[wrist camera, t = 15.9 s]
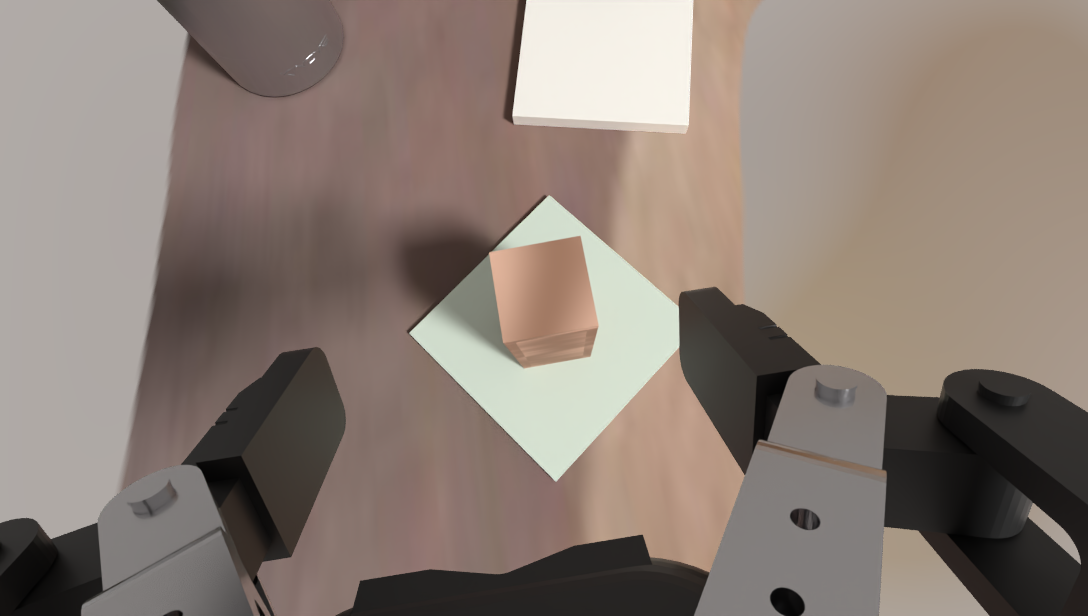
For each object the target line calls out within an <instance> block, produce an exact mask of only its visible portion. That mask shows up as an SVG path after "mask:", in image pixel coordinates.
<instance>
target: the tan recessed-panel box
mask: <svg viewBox="0 0 1088 616" xmlns="http://www.w3.org/2000/svg"><path fill="white" fill-rule="evenodd" d="M489 256H490V262H491V268H492V275H493V281H494V288H495V294H496V301H497V307H498V313H499V320H500V326H501V333H502V339H503V343H504V345H505V346H506V347H507V348H508V349H509V351H510V352H511V353H512V354H513V356H514V357H515V358H516V359H517V360H518V362H519V363H520V364H521V365H522V367H523V368H524V369H525V368H530V367H536V366H541V365H547V364H552V363H558V362H563V361H569V360H575V359H580V358H586V357H591V353H592V349H593V345H594V342H595V338H596V334H597V330H598V326H599V324H598V319H597V315H596V310H595V305H594V300H593V295H592V290H591V285H590V280H589V275H588V270H587V265H586V260H585V255H584V250H583V245H582V240H581V236H576V237H570V238H565V239H559V240H554V241H548V242H543V243H538V244H532V245H527V246H521V247H516V248H510V249H505V250H499V251H494V252H489Z"/></svg>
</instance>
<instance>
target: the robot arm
mask: <svg viewBox="0 0 1088 616" xmlns="http://www.w3.org/2000/svg"><path fill="white" fill-rule="evenodd" d="M157 1H158V2H159V3H160V4H161V5H162V6H163V7H164V8H165V9H166V10H167V11H168V12H169V13H170V14H171V15H172V16H173V17H174V18H175V19H176V20H177V21H178V22H179V23H180V24H181V25H182V26H183V27H184V28H185V29H186V31H187V32H188V33H189V34H190V35H191V36H192V37H193V38H194V39H195V40H196V41H197V42H198V43H199V44H200V45H201V46H202V47H203V48H204V49H205V50H206V51H207V52H208V53H209V54H210V55H211V56H212V57H213V58H214V60H215V61H216V62H217V63H218V64H219V65H220V66H221V67H222V68H223V69H224V70H225V71H226V72H227V73H228V74H229V75H230V76H231V77H232V78H233V79H234V80H235V81H236V82H237V83H238V84H239V85H240V86H241V87H243V88H245V89H247V90H248V91H250V92H252V93H256V94H259V95H262V96H271V97H277V96H288V95H291V94H295V93H298V92H301V91H303V90H305V89H307V88H309V87H311V86H313V85H314V84H316V83H317V82H318V81H320V80H321V79H323V78H324V76H325V75H326V74H327V73H328V72H329V71H330V70H331V69H332V68H333V66H334V64H335V63H336V61H337V60H338V58H339V55H340V52H341V50H342V46H343V38H344V35H343V26H342V23H341V21H340V18H339V16H338V14H337V12H336V11H335V9H334V7H333V5H332V4H331V2H330V0H157ZM679 349H680V361H681V367H682V370H683V374H684V376H685V379H686V381H687V382H688V384H689V386H690V387H691V389H692V390H693V392H694V394H695V395H696V397H697V398H698V400H699V402H700V403H701V405H702V407H703V408H704V410H705V411H706V413H707V415H708V416H709V418H710V420H711V421H712V423H713V424H714V426H715V428H716V429H717V431H718V432H719V434H720V436H721V437H722V439H723V441H724V442H725V444H726V445H727V447H728V449H729V450H730V452H731V454H732V455H733V457H734V458H735V460H736V462H737V463H738V465H739V466H740V468H741V470H742V471H743V473H744V475H745V477H744V480H743V483H742V485H741V488H740V491H739V494H738V496H737V499H736V502H735V505H734V507H733V510H732V513H731V516H730V518H729V521H728V524H727V527H726V529H725V532H724V535H723V538H722V540H721V543H720V546H719V549H718V551H717V554H716V557H715V560H714V562H713V565H712V568H711V571H710V573H709V572H707V571H704V570H702V569H700V568H697V567H694V566H691V565H688V564H684V563H681V562H677V561H672V560H667V559H661V558H650V556H649V553H648V550H647V547H646V544H645V541H644V537H643V535H638V536H632V537H625V538H619V539H613V540H607V541H601V542H595V543H589V544H583V545H577V546H573V547H570V548H568V549H565V550H563V551H560V552H558V553H555V554H553V555H550V556H548V557H545V558H543V559H541V560H538V561H536V562H533V563H531V564H528V565H526V566H523V567H521V568H518V569H516V570H514V571H511V572H508V573H505V574H483V573H470V572H457V571H444V570H431V569H430V570H424V571H418V572H412V573H406V574H399V575H393V576H387V577H381V578H375V579H369V580H363V581H360V584H359V587H358V591H357V595H356V599H355V602H354V606H353V608H351V609H348V610H346V611H344V612H342V613H340V614H338V615H336V616H879V605H880V587H881V569H882V552H883V533H884V527H891V528H900V529H901V528H902V529H910V530H918V531H919V532H920V533H921V535H922V536H923V537H924V538H925V539H926V541H927V542H928V543H929V544H930V545H931V546H932V547H933V549H934V550H935V551H936V552H937V554H938V555H939V556H940V557H941V558H942V559H943V561H944V562H945V563H946V564H947V566H948V567H949V568H950V569H951V570H952V571H953V573H954V574H955V575H956V576H957V577H958V579H959V580H960V581H961V582H962V583H963V585H964V586H965V587H966V588H967V589H968V591H969V592H970V593H971V594H972V595H973V597H974V598H975V599H976V600H977V601H978V603H979V604H980V605H981V606H982V607H983V608H984V610H985V611H986V612H987V613H988V614H989V616H1088V412H1086V411H1085V410H1083V409H1081V408H1080V407H1078V406H1076V405H1075V404H1073V403H1072V402H1070V401H1068V400H1067V399H1065V398H1064V397H1062V396H1060V395H1059V394H1057V393H1055V392H1054V391H1052V390H1050V389H1049V388H1047V387H1045V386H1043V385H1041V384H1039V383H1037V382H1035V381H1032V380H1030V379H1027V378H1024V377H1021V376H1017V375H1014V374H1010V373H1006V372H1000V371H994V370H983V369H971V370H963V371H958V372H954V373H952V374H950V375H948V376H947V377H946V379H945V380H944V383H943V387H942V391H941V395H940V398H938V397H915V396H894V395H886V392H885V389H884V388H883V387H882V386H881V384H880V383H878V382H877V381H876V380H875V379H873V378H871V377H870V376H868V375H866V374H864V373H862V372H859V371H856V370H853V369H850V368H845V367H841V366H834V365H821V364H820V363H819V362H818V361H816V360H815V359H814V358H813V357H812V356H811V355H810V354H809V353H807V352H806V351H805V350H804V349H803V348H802V347H801V346H800V345H799V344H797V343H796V342H795V341H794V340H793V339H792V338H791V337H788V336H787V334H786V333H785V332H784V331H783V330H782V329H781V328H779V327H777V326H776V324H775V323H774V322H773V321H772V320H771V319H770V318H768V317H767V316H766V315H765V314H764V313H762V312H760V311H758V310H755V309H753V308H751V307H748V306H746V305H743V304H741V305H734V304H733V303H732V302H731V301H730V300H729V299H728V298H727V297H726V296H725V295H724V294H723V293H722V292H721V291H720V290H719V289H718V288H716V287H711V288H704V289H698V290H691V291H685V292H681V294H680V296H679ZM215 423H216V425H215V426H212V427H211V428H210V430H209V431H208V432H207V433H206V435H205V436H204V437H203V438H202V439H201V441H200V442H199V443H198V444H197V446H196V447H195V448H194V449H193V451H192V452H191V453H190V454H189V456H188V457H187V458H186V459H185V460H184V462H183V463H182V464H181V465H178V466H173V467H169V468H165V469H162V470H159V471H157V472H154V473H152V474H150V475H147V476H145V477H143V478H141V479H139V480H138V481H136V482H134V483H133V484H131V485H129V486H128V487H127V488H125V489H124V490H122V491H121V492H120V493H119V494H117V495H116V496H115V497H114V498H113V499H112V500H111V501H110V502H109V503H108V504H107V505H106V506H105V507H104V509H103V510H102V512H101V513H100V516H99V518H98V523H95V524H92V525H90V526H87V527H84V528H81V529H78V530H76V531H73V532H70V533H67V534H64V535H61V536H59V537H56V538H53V539H50V538H49V537H48V536H47V534H46V533H45V532H44V530H43V529H42V528H41V527H40V525H39V524H38V523H37V521H35V520H33V519H29V518H21V519H14V520H9V521H6V522H2V523H0V616H277V615H276V613H275V611H274V608H273V606H272V604H271V601H270V599H269V597H268V595H267V592H266V590H265V588H264V585H263V583H262V582H261V580H260V578H259V576H258V574H257V572H258V570H259V568H260V566H261V564H262V562H264V561H270V560H276V559H282V558H288V557H291V556H292V554H293V551H294V549H295V547H296V544H297V542H298V540H299V537H300V535H301V533H302V530H303V528H304V526H305V523H306V521H307V519H308V516H309V514H310V512H311V509H312V507H313V505H314V502H315V500H316V498H317V495H318V493H319V491H320V488H321V486H322V483H323V481H324V479H325V476H326V474H327V472H328V469H329V467H330V465H331V462H332V460H333V458H334V455H335V453H336V451H337V448H338V446H339V444H340V441H341V439H342V437H343V434H344V431H345V424H346V417H345V410H344V406H343V403H342V400H341V397H340V394H339V391H338V389H337V386H336V383H335V380H334V378H333V375H332V372H331V369H330V367H329V364H328V361H327V358H326V356H325V354H324V352H323V351H322V350H321V349H320V348H318V347H315V348H309V349H302V350H295V351H289V352H283V353H281V354H280V355H279V356H278V357H277V358H276V360H275V361H274V362H273V364H272V365H271V366H270V367H269V369H268V370H267V371H266V373H265V374H264V375H263V376H262V378H259V379H258V380H256V381H255V382H254V383H252V384H251V385H249V386H248V387H247V388H245V389H244V390H243V391H241V392H240V393H239V394H238V395H237V396H236V397H235V399H234V400H233V401H232V402H231V404H230V405H229V406H228V407H227V409H226V412H223V414H222V415H221V416H220V417H219V418H218V420H217V421H216V422H215ZM1032 503H1035V504H1036V505H1037V506H1038V507H1039V508H1040V509H1041V510H1043V511H1044V512H1045V513H1046V514H1047V515H1048V516H1049V517H1051V518H1052V519H1053V520H1054V521H1055V522H1057V523H1058V524H1059V525H1060V526H1061V527H1062V528H1063V529H1064V530H1065V531H1066V532H1067V533H1068V535H1069V536H1070V537H1071V539H1072V540H1073V542H1074V544H1075V545H1076V547H1077V550H1078V552H1079V555H1080V559H1081V565H1080V564H1079V563H1078V562H1077V561H1076V560H1075V559H1074V558H1073V557H1071V556H1070V555H1069V554H1068V553H1067V552H1066V551H1065V550H1064V549H1063V548H1061V547H1060V546H1059V545H1058V544H1057V543H1056V542H1055V541H1054V540H1053V539H1052V538H1050V537H1049V536H1048V535H1047V534H1046V533H1045V532H1044V531H1043V530H1042V529H1040V528H1039V527H1038V526H1037V525H1036V524H1035V523H1034V522H1033V521H1032V520H1030V519H1029V518H1028V514H1029V512H1030V509H1031V506H1032Z"/></svg>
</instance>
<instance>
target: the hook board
mask: <svg viewBox="0 0 1088 616" xmlns="http://www.w3.org/2000/svg"><path fill="white" fill-rule="evenodd" d="M692 20H693V0H527V1H526V9H525V17H524V25H523V33H522V42H521V50H520V58H519V66H518V74H517V82H516V90H515V98H514V106H513V115H512V117H513V122H514V124H517V125H535V126H553V127H571V128H589V129H607V130H626V131H644V132H662V133H680V134H686V131H687V128H688V126H689V102H690V75H691V47H692Z"/></svg>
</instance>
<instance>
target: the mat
mask: <svg viewBox="0 0 1088 616" xmlns="http://www.w3.org/2000/svg"><path fill="white" fill-rule="evenodd" d="M576 236H581V240H582V245H583V250H584V255H585V260H586V265H587V270H588V275H589V280H590V285H591V290H592V295H593V300H594V305H595V310H596V315H597V319H598V324H599V326H598V330H597V334H596V338H595V342H594V345H593V349H592V353H591V357H586V358H580V359H575V360H569V361H563V362H558V363H552V364H547V365H541V366H536V367H530V368H525V369H524V368H523V367H522V365H521V364H520V363H519V362H518V360H517V359H516V358H515V357H514V356H513V354H512V353H511V352H510V351H509V349H508V348H507V347H506V346H505V345H504V343H503V339H502V333H501V326H500V320H499V313H498V307H497V301H496V294H495V288H494V281H493V275H492V268H491V262H490V256H489V255H488V256H487V257H486V258H485V259H484V260H483V261H482V262H481V263H480V264H479V265H478V266H477V267H476V268H475V269H474V270H473V271H472V272H471V273H470V274H469V275H468V276H467V277H466V278H465V279H463V280H462V281H461V282H460V283H459V284H458V285H457V286H456V287H455V288H454V289H453V290H452V291H451V292H450V293H449V294H448V295H447V296H446V297H445V298H444V299H443V300H442V301H441V302H440V303H439V304H438V305H437V306H436V307H435V308H434V309H433V310H432V311H431V312H430V313H429V314H428V315H427V316H426V317H425V318H424V319H423V320H422V321H421V322H420V323H419V324H418V325H417V326H416V327H415V328H414V329H413V330H412V331H411V332H410V333H409V334H410V335H411V336H412V337H413V338H414V339H415V340H416V341H417V342H418V343H419V344H420V345H421V346H422V347H423V348H424V349H425V350H426V351H427V352H428V353H429V354H430V355H431V356H432V357H433V358H434V359H435V360H436V361H437V362H438V363H439V364H440V365H441V366H442V367H443V368H444V369H445V370H446V371H447V372H448V373H449V374H450V375H451V376H452V377H453V378H454V379H455V380H456V381H457V382H458V383H459V384H460V385H461V386H462V387H463V388H464V389H465V390H466V391H467V392H468V393H469V394H470V395H471V396H472V397H473V398H474V399H475V400H476V401H477V403H478V404H479V405H480V406H481V407H482V408H483V409H484V410H485V411H486V412H487V413H488V414H489V415H490V416H491V417H492V418H493V419H494V420H495V421H496V422H497V423H498V424H499V425H500V426H501V427H502V428H503V429H504V430H505V431H506V432H507V433H508V434H509V435H510V436H511V437H512V438H513V439H514V440H515V441H516V442H517V443H518V444H519V445H520V446H521V447H522V448H523V449H524V450H525V451H526V452H527V453H528V454H529V455H530V456H531V457H532V458H533V459H534V460H535V461H536V462H537V463H538V464H539V465H540V466H541V467H542V468H543V469H544V470H545V471H546V472H547V473H548V474H549V475H550V476H551V477H552V478H553V479H554V480H555V481H557V480H558V479H559V478H560V477H561V475H562V474H563V473H564V472H565V471H566V470H567V469H568V468H569V467H570V466H571V465H572V463H573V462H574V461H575V460H576V459H577V458H578V457H579V456H580V455H581V454H582V453H583V451H584V450H585V449H586V448H587V447H588V446H589V445H590V444H591V443H592V442H593V440H594V439H595V438H596V437H597V436H598V435H599V434H600V433H601V432H602V431H603V430H604V428H605V427H606V426H607V425H608V424H609V423H610V422H611V421H612V420H613V419H614V418H615V416H616V415H617V414H618V413H619V412H620V411H621V410H622V409H623V408H624V407H625V405H626V404H627V403H628V402H629V401H630V400H631V399H632V398H633V397H634V396H635V395H636V393H637V392H638V391H639V390H640V389H641V388H642V387H643V386H644V385H645V384H646V383H647V381H648V380H649V379H650V378H651V377H652V376H653V375H654V374H655V373H656V372H657V370H658V369H659V368H660V367H661V366H662V365H663V364H664V363H665V362H666V361H667V360H668V358H669V357H670V356H671V355H672V354H673V353H674V352H675V351H676V350H677V349H678V348H679V307H678V306H677V305H676V304H675V303H673V302H672V301H671V300H670V299H669V298H668V297H667V296H665V295H664V294H663V293H662V292H661V291H660V290H658V289H657V288H656V287H655V286H654V285H653V284H651V283H650V282H649V281H648V280H647V279H646V278H645V277H643V276H642V275H641V274H640V273H639V272H638V271H636V270H635V269H634V268H633V267H632V266H631V265H629V264H628V263H627V262H626V261H625V260H624V259H623V258H621V257H620V256H619V255H618V254H617V253H616V252H614V251H613V250H612V249H611V248H610V247H609V246H607V245H606V244H605V243H604V242H603V241H602V240H601V239H599V238H598V237H597V236H596V235H595V234H594V233H592V232H591V231H590V230H589V229H588V228H587V227H585V226H584V225H583V224H582V223H581V222H580V221H579V220H577V219H576V218H575V217H574V216H573V215H572V214H570V213H569V212H568V211H567V210H566V209H565V208H563V207H562V206H561V205H560V204H559V203H558V202H557V201H555V200H554V199H553V198H552V197H551V196H550V195H549V196H548V197H547V198H546V199H545V200H544V201H543V202H542V203H541V204H539V205H538V206H537V207H536V208H535V209H534V210H533V211H532V212H531V213H530V214H529V215H528V216H527V217H526V218H525V219H524V220H523V221H522V222H521V223H520V224H519V225H518V226H517V227H516V228H515V229H514V230H513V231H512V232H511V233H510V234H509V235H508V236H507V237H506V238H505V239H504V240H503V241H502V242H501V243H500V244H499V245H498V246H497V247H496V248H495V249H494V250H493V251H492V252H494V251H499V250H505V249H510V248H516V247H521V246H527V245H532V244H538V243H543V242H548V241H554V240H559V239H565V238H570V237H576Z"/></svg>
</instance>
